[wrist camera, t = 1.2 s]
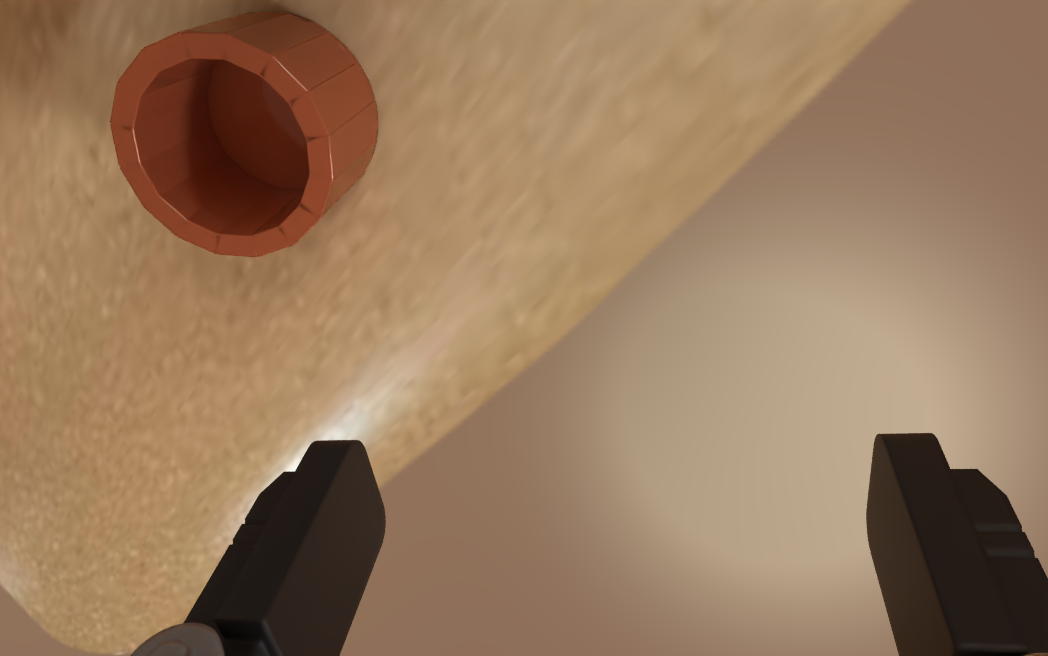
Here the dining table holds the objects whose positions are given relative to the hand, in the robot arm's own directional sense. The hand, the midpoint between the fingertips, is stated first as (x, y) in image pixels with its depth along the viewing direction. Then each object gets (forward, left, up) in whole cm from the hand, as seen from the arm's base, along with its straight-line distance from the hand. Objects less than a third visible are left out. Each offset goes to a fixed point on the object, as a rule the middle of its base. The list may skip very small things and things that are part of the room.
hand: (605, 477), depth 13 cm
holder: (-5, -15, -27) cm, 32 cm away
